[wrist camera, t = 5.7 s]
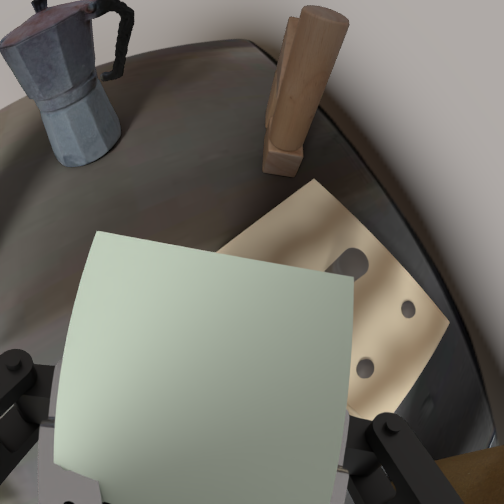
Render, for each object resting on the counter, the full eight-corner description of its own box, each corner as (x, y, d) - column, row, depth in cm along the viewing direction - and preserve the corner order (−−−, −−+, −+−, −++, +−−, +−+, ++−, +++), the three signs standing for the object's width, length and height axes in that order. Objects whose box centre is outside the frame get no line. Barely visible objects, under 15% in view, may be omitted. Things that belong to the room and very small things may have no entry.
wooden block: (293, 117, 35) (333, -6, 19) (294, 179, 30) (357, 28, 14) (265, 112, 34) (295, -15, 18) (260, 174, 30) (304, 13, 14)
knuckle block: (151, 412, 13) (53, 481, 3) (165, 324, 15) (96, 230, 5) (244, 428, 13) (324, 523, 3) (256, 340, 15) (353, 276, 5)
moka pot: (53, 122, 30) (14, 2, 12) (156, 109, 32) (148, -37, 14) (29, 176, 26) (-39, 44, 8) (144, 165, 29) (117, -18, 10)
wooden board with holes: (208, 269, 25) (208, 234, 19) (306, 193, 30) (327, 151, 24) (363, 428, 21) (406, 438, 15) (434, 327, 26) (477, 312, 20)
